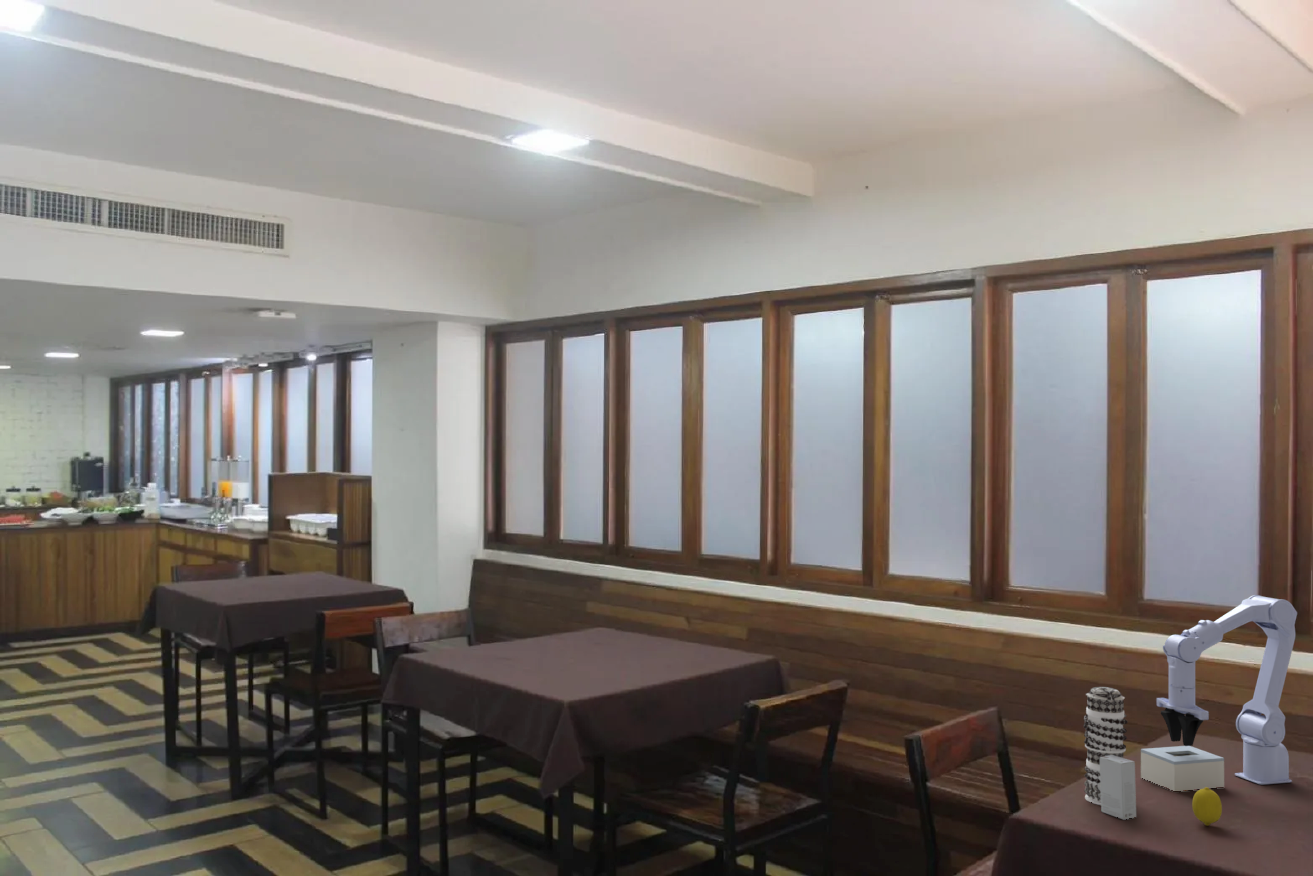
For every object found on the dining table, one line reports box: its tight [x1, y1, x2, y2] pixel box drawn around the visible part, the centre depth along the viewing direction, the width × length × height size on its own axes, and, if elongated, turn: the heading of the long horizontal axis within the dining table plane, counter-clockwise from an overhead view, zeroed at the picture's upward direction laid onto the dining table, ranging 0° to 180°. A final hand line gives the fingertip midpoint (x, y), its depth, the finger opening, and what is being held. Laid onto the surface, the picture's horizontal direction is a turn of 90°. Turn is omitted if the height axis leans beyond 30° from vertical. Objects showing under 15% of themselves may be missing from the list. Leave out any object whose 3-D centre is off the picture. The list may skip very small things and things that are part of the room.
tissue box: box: [1140, 745, 1225, 792], centre depth 248 cm, size 14×11×7 cm
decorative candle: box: [1083, 686, 1129, 806], centre depth 234 cm, size 9×9×25 cm
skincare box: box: [1100, 755, 1137, 821], centre depth 224 cm, size 6×4×12 cm
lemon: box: [1191, 787, 1223, 827], centre depth 218 cm, size 6×6×8 cm
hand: (1181, 743), depth 248 cm, fingers open, 3 cm apart
